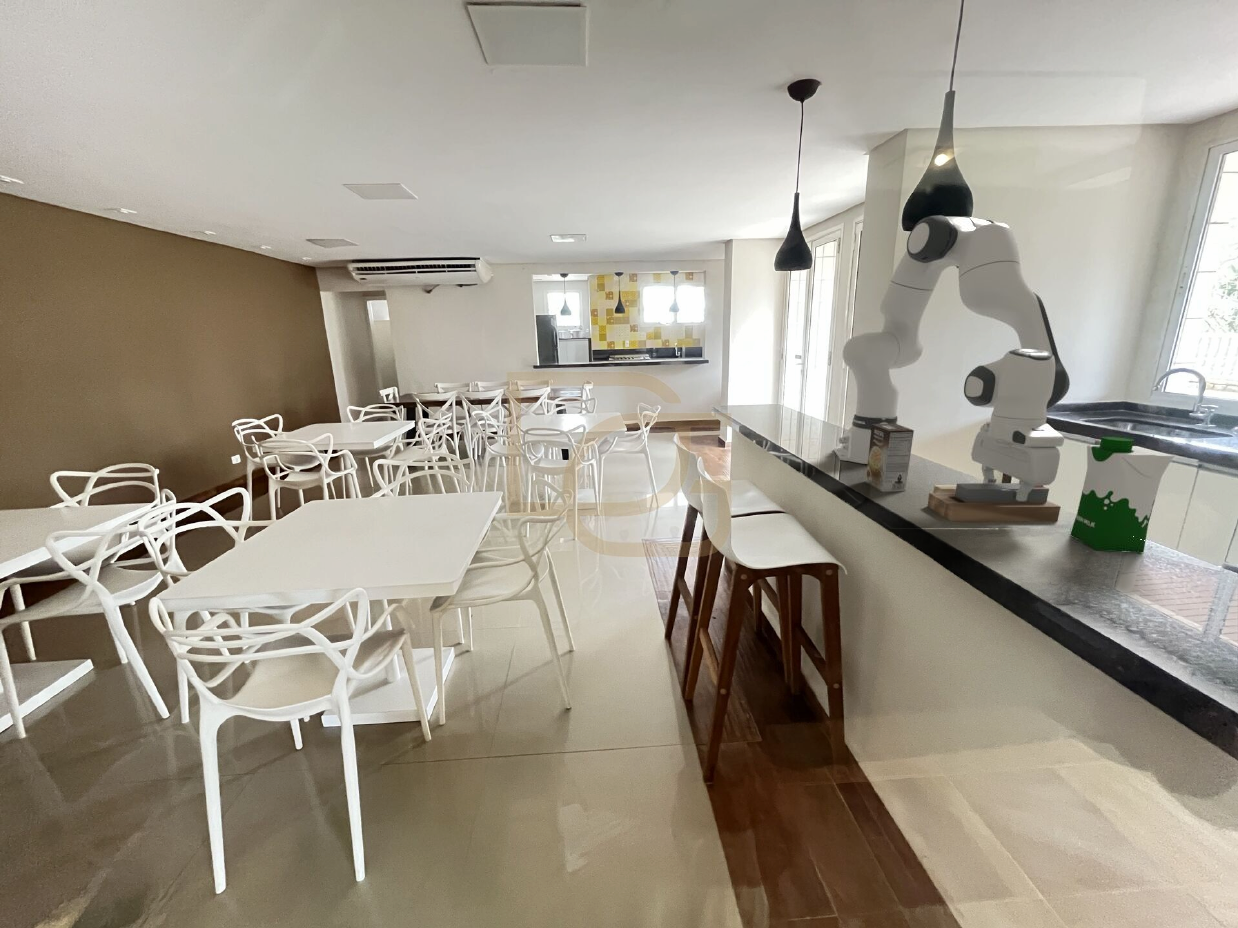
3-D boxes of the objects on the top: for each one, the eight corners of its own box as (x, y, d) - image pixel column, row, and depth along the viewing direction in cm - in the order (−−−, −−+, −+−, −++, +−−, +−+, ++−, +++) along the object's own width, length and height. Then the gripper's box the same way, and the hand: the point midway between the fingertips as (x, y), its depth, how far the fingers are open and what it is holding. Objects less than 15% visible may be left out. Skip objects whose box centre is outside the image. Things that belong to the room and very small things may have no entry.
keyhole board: (927, 507, 109) (929, 493, 108) (1025, 507, 107) (1027, 492, 106) (950, 522, 100) (952, 506, 99) (1057, 522, 99) (1060, 506, 98)
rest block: (932, 494, 117) (934, 485, 117) (963, 494, 117) (964, 484, 116) (939, 498, 114) (941, 488, 114) (970, 498, 114) (972, 488, 113)
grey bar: (953, 505, 106) (957, 480, 105) (1030, 505, 105) (1035, 480, 103) (964, 512, 102) (968, 486, 101) (1044, 512, 101) (1049, 486, 99)
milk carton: (1061, 533, 94) (1083, 433, 88) (1115, 535, 92) (1142, 433, 87) (1094, 552, 85) (1121, 443, 80) (1155, 555, 83) (1186, 444, 78)
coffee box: (864, 482, 129) (870, 423, 125) (888, 481, 129) (895, 423, 124) (881, 492, 120) (888, 430, 116) (907, 492, 120) (915, 429, 116)
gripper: (968, 420, 109) (958, 478, 113) (1036, 440, 90) (1021, 509, 93) (997, 420, 109) (987, 478, 112) (1072, 440, 89) (1056, 509, 93)
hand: (1003, 492), depth 103 cm, fingers open, 8 cm apart
